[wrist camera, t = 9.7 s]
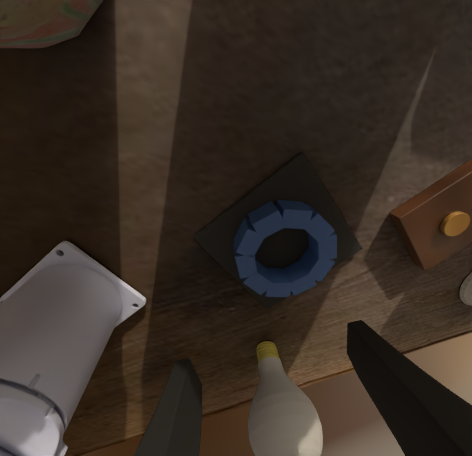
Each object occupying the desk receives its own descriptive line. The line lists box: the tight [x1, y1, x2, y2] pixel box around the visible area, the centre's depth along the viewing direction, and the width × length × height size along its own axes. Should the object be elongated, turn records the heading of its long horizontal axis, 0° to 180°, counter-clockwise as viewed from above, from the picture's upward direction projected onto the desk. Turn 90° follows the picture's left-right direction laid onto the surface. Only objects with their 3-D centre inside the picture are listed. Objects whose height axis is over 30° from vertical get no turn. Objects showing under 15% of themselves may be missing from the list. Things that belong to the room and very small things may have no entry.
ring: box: [233, 200, 337, 297], centre depth 17 cm, size 7×8×2 cm
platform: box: [390, 161, 472, 271], centre depth 18 cm, size 7×7×2 cm
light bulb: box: [248, 341, 323, 456], centre depth 19 cm, size 5×5×10 cm
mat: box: [193, 152, 362, 310], centre depth 19 cm, size 10×10×1 cm
